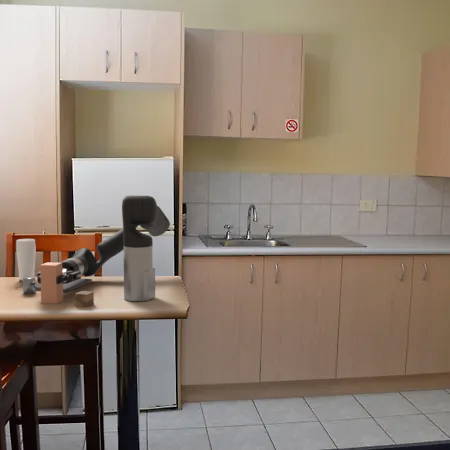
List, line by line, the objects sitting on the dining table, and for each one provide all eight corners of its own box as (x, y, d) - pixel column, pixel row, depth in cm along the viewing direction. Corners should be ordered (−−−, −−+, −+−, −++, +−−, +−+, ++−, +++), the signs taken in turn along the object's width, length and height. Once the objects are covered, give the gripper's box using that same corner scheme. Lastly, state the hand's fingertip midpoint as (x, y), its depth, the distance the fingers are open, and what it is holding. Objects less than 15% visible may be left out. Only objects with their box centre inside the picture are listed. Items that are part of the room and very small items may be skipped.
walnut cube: (93, 304, 169) (93, 291, 169) (87, 307, 165) (86, 294, 165) (82, 303, 170) (81, 290, 170) (75, 306, 166) (75, 293, 166)
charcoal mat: (92, 281, 202) (92, 279, 201) (65, 292, 184) (64, 289, 184) (58, 279, 205) (58, 276, 205) (29, 289, 188) (29, 286, 188)
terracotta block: (63, 299, 174) (62, 262, 173) (56, 303, 169) (55, 265, 168) (48, 299, 175) (47, 262, 174) (41, 303, 170) (40, 265, 169)
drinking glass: (16, 281, 200) (15, 241, 199) (18, 278, 207) (16, 238, 205) (35, 281, 202) (34, 240, 201) (37, 277, 209) (35, 238, 207)
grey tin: (38, 291, 185) (37, 277, 184) (31, 294, 181) (30, 279, 181) (28, 291, 186) (27, 276, 185) (20, 293, 182) (20, 278, 182)
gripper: (90, 281, 185) (70, 293, 168) (49, 280, 187) (26, 291, 170) (89, 260, 184) (70, 269, 168) (48, 258, 186) (25, 267, 169)
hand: (48, 280), depth 169 cm, fingers open, 5 cm apart
